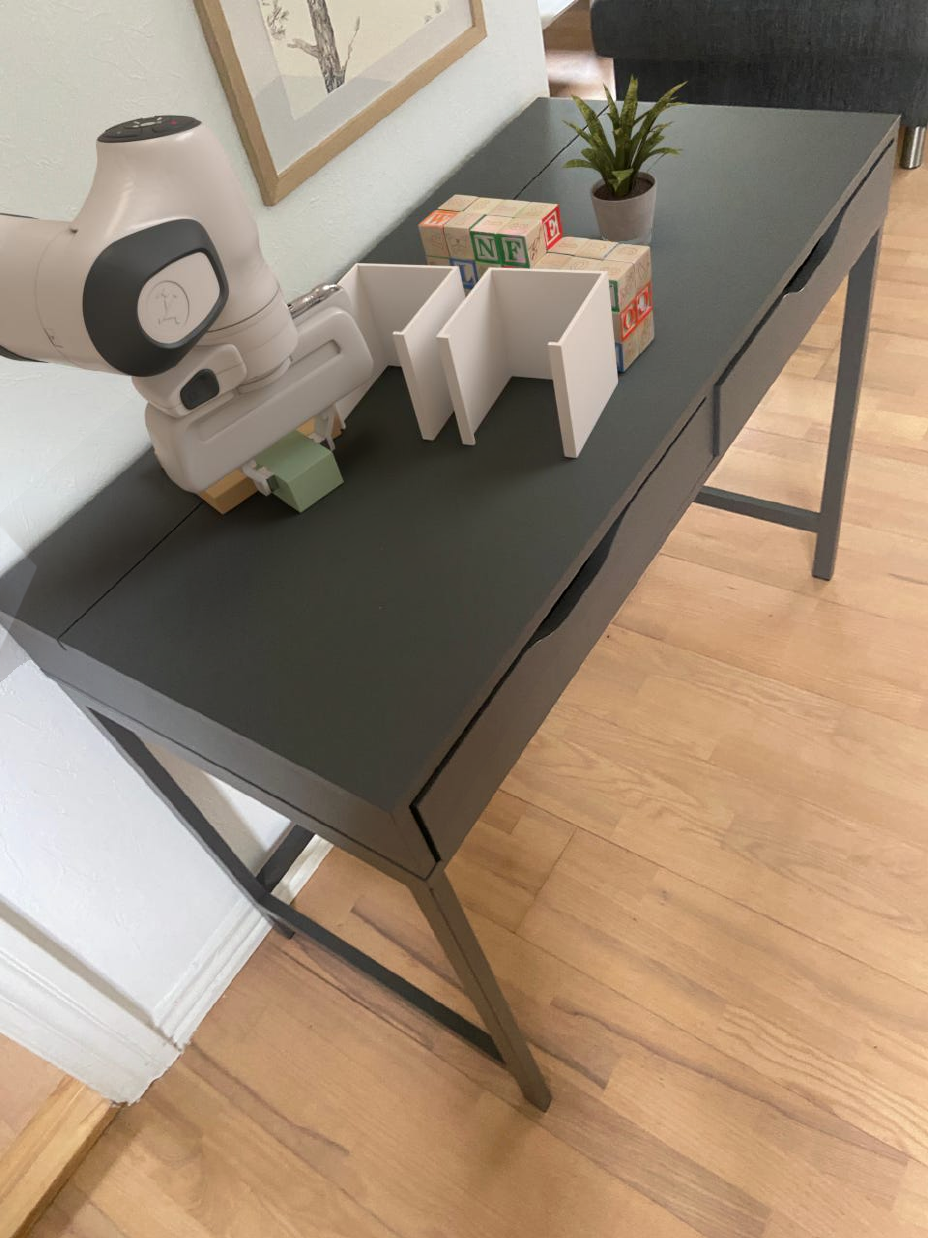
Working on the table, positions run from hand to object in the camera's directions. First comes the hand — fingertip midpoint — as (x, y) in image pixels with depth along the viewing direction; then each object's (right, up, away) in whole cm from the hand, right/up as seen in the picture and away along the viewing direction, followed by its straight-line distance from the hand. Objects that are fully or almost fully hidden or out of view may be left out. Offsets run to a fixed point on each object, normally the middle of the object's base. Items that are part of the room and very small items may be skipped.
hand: (297, 470), depth 82 cm
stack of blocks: (+23, +15, +10) cm, 29 cm away
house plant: (+34, +27, +18) cm, 47 cm away
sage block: (0, -1, +2) cm, 2 cm away
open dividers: (+16, +7, +4) cm, 18 cm away
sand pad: (-6, +3, +7) cm, 9 cm away
